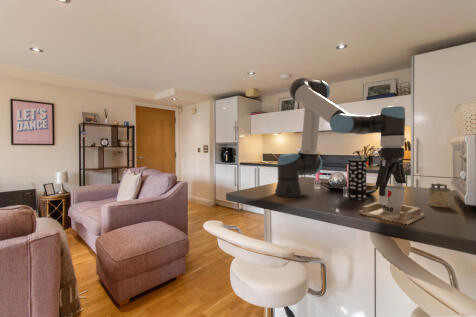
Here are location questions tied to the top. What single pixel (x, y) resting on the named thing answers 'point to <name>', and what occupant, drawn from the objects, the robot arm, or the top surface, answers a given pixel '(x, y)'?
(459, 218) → the top surface
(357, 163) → the spotted tube
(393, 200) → the cup
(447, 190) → the olive box with handle
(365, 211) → the rest
